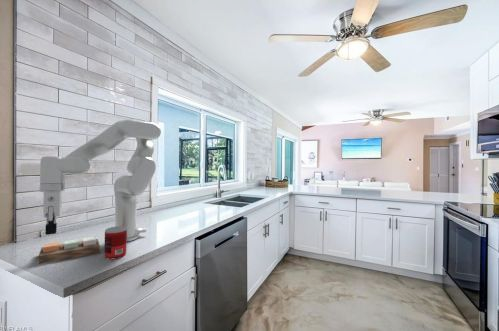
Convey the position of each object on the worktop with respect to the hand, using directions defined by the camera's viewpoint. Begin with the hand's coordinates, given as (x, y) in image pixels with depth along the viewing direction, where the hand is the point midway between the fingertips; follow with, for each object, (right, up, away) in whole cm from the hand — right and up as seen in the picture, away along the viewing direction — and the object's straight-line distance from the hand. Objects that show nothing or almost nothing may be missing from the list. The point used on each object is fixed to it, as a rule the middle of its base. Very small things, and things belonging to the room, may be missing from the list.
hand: (50, 233), depth 90 cm
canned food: (+24, -10, +3) cm, 26 cm away
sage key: (+5, -8, +4) cm, 10 cm away
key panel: (+5, -10, +4) cm, 11 cm away
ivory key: (+10, -8, +8) cm, 15 cm away
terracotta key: (0, -7, 0) cm, 7 cm away
